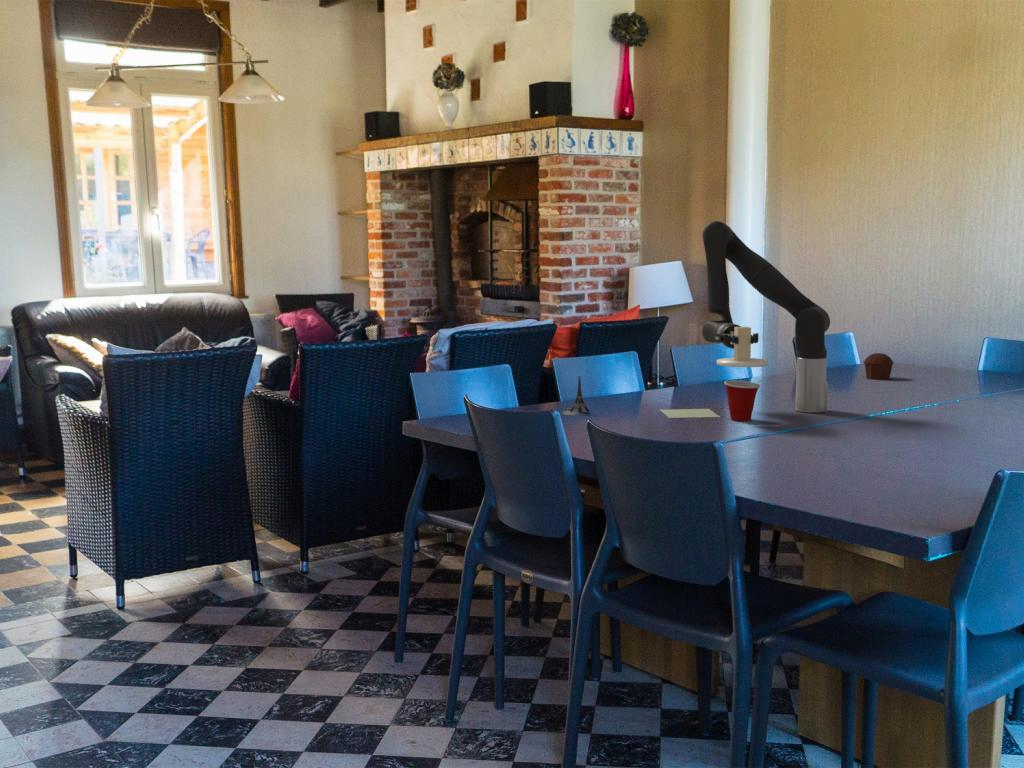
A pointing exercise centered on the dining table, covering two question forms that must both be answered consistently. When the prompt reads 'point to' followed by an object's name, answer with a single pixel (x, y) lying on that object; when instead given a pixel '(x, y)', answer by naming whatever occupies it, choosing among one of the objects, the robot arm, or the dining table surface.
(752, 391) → the plastic cup
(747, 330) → the lid
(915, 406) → the dining table surface
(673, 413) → the mat
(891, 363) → the muffin
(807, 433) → the dining table surface
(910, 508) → the dining table surface
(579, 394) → the eiffel tower figurine
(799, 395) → the robot arm
